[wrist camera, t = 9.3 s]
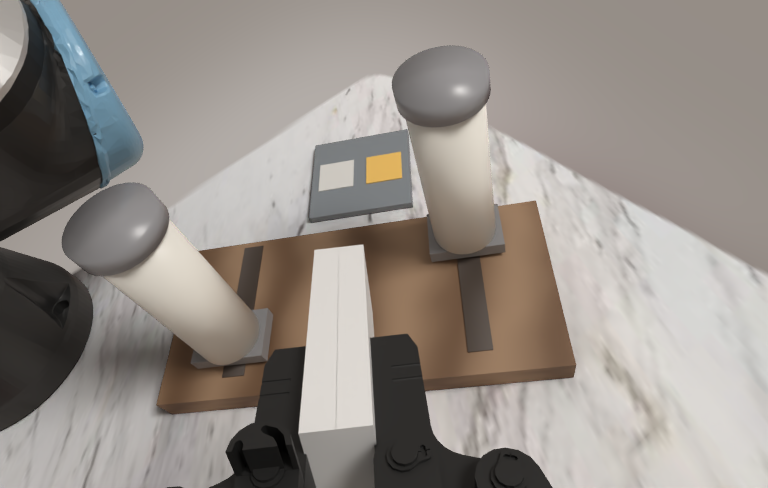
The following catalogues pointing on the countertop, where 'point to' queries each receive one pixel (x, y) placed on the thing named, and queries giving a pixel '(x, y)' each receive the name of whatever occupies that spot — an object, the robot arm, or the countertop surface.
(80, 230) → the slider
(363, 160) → the card
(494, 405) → the countertop surface
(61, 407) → the countertop surface
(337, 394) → the robot arm
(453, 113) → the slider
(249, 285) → the brown wooden board
